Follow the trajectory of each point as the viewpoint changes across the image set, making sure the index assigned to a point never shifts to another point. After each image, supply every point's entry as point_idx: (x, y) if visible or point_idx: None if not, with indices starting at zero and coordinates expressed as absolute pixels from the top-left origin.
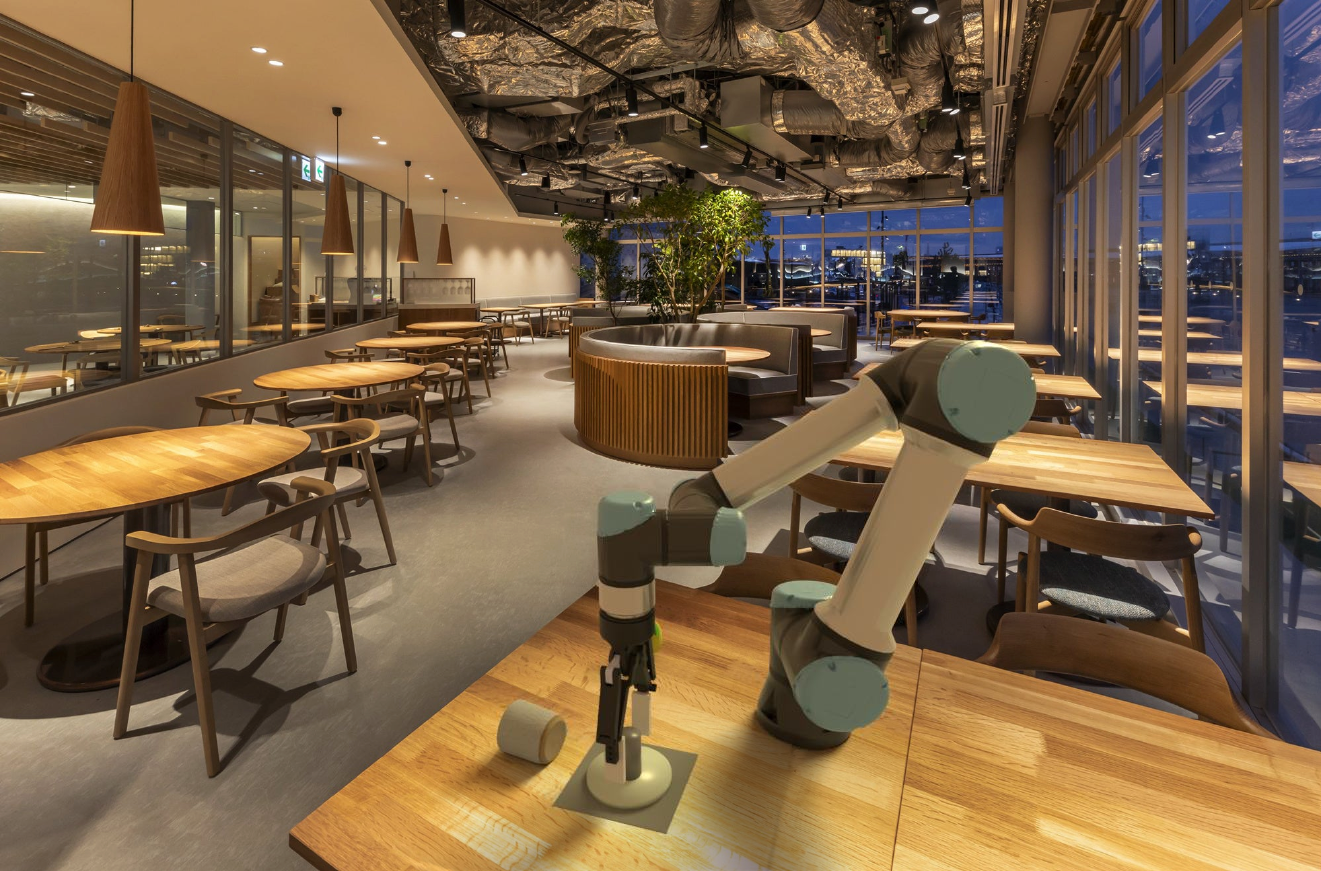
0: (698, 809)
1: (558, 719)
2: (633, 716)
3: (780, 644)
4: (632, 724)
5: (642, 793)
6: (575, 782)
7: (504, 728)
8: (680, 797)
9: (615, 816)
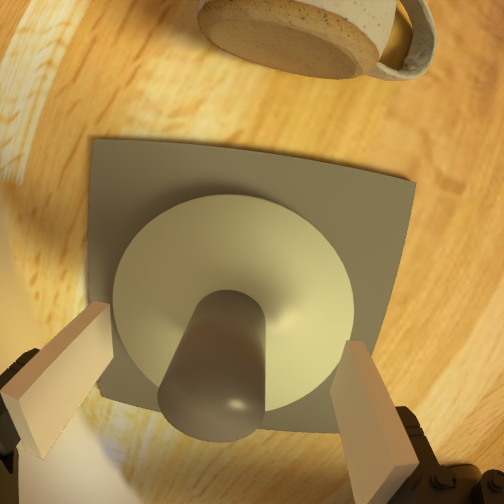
0: (185, 436)
1: (320, 30)
2: (360, 388)
3: None
4: (353, 362)
5: (158, 364)
6: (182, 166)
7: None
8: None
9: None
